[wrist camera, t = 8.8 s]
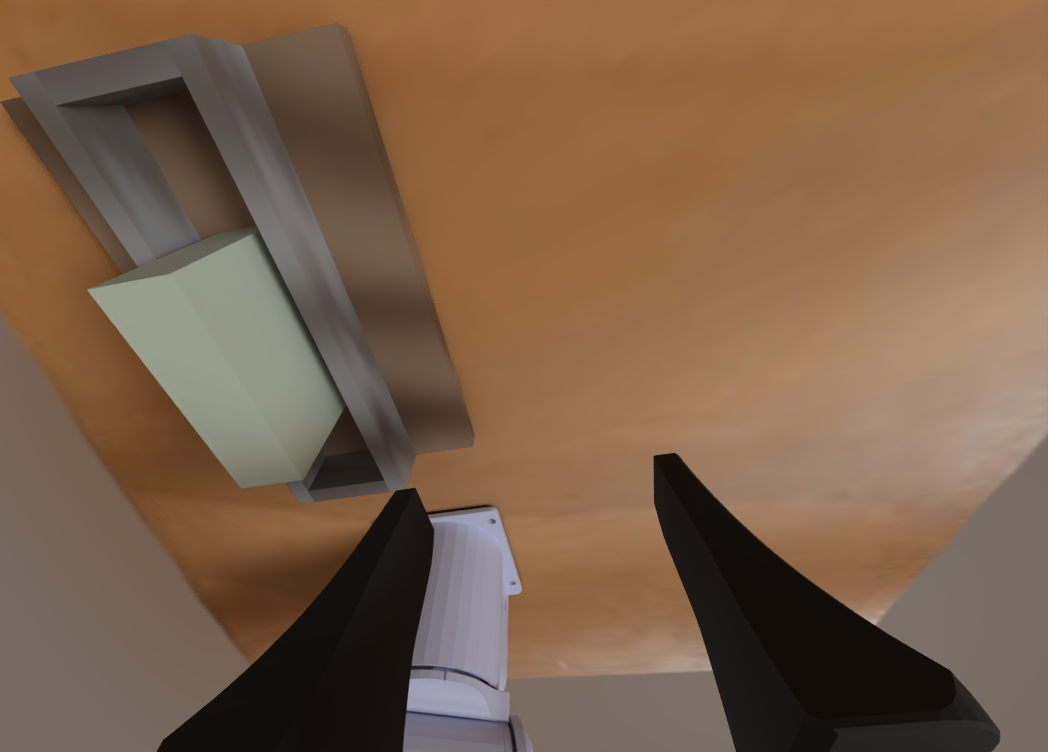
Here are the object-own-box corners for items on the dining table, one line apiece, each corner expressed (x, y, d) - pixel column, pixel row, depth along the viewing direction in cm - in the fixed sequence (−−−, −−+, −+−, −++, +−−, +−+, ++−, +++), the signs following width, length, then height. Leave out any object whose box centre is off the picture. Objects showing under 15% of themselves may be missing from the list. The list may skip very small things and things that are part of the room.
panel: (355, 388, 21) (303, 479, 16) (307, 396, 21) (240, 488, 16) (276, 222, 16) (169, 273, 11) (217, 233, 17) (86, 289, 12)
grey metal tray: (474, 434, 24) (468, 481, 21) (274, 463, 25) (241, 511, 22) (347, 27, 14) (302, 8, 11) (28, 102, 15) (-90, 101, 12)
